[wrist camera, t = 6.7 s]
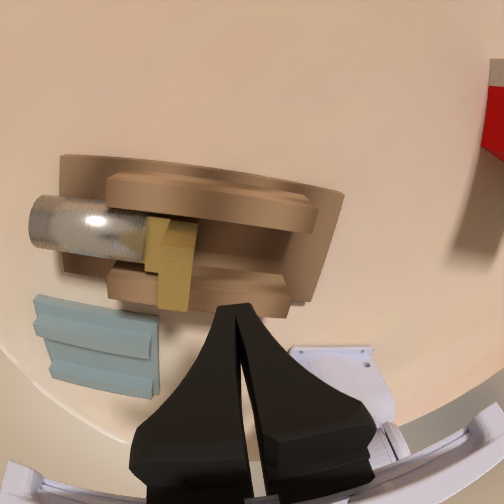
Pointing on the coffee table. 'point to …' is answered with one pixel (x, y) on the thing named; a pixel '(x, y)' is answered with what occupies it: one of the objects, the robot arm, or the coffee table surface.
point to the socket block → (213, 230)
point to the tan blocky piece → (171, 257)
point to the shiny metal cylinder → (88, 228)
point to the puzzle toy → (495, 111)
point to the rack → (100, 346)
